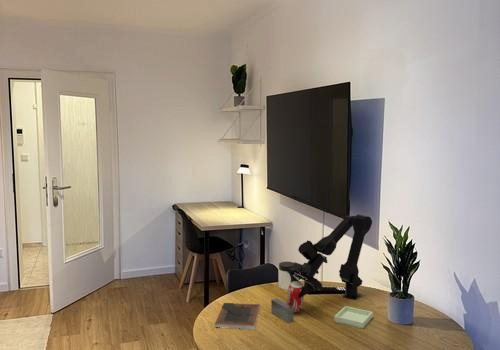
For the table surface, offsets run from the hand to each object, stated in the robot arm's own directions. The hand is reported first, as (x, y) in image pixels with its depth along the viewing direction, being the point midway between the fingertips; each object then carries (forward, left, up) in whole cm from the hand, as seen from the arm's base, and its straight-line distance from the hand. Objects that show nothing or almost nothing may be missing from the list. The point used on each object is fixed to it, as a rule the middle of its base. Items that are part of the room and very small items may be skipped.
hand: (293, 294), depth 200 cm
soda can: (-2, -1, -7) cm, 8 cm away
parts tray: (-7, +24, -8) cm, 27 cm away
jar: (-26, -18, -9) cm, 33 cm away
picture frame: (+16, -19, -9) cm, 26 cm away
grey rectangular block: (+6, -3, -8) cm, 10 cm away
